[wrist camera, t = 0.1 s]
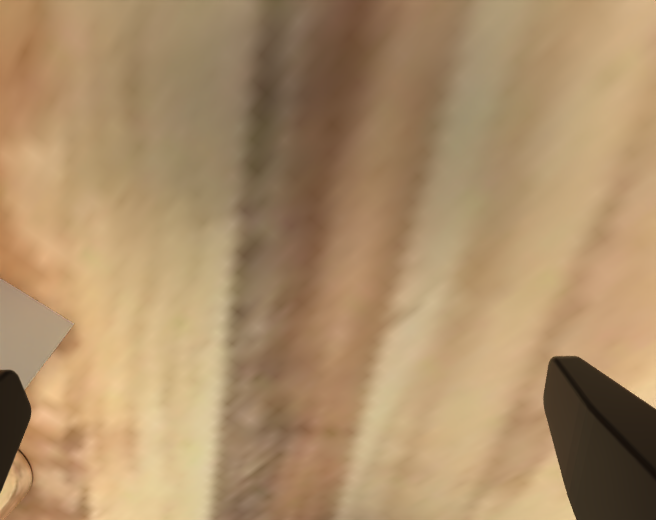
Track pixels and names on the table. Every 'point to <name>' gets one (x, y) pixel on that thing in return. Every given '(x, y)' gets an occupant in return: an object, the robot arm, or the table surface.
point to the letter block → (27, 332)
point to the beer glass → (15, 485)
